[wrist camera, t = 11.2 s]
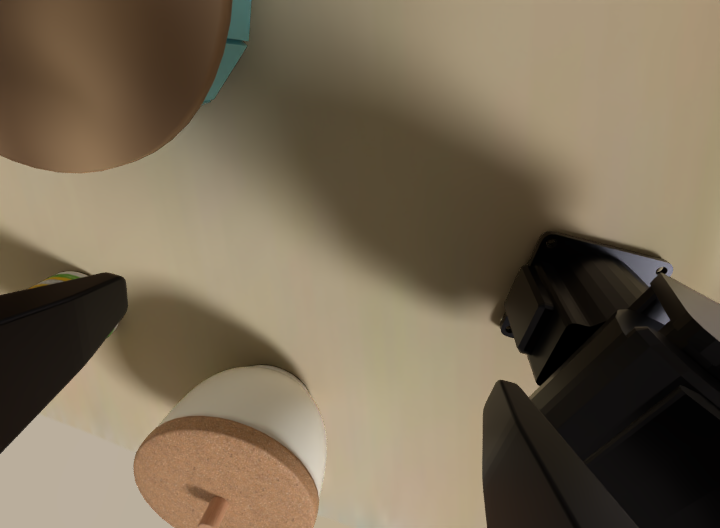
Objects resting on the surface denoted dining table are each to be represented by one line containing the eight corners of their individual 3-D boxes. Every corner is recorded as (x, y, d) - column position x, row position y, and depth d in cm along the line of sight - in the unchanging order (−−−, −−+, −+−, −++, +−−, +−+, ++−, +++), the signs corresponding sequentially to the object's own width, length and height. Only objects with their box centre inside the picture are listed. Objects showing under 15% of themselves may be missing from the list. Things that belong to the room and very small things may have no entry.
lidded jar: (263, 463, 32) (205, 599, 24) (173, 370, 29) (71, 490, 21) (372, 424, 28) (347, 571, 20) (281, 313, 25) (207, 432, 17)
